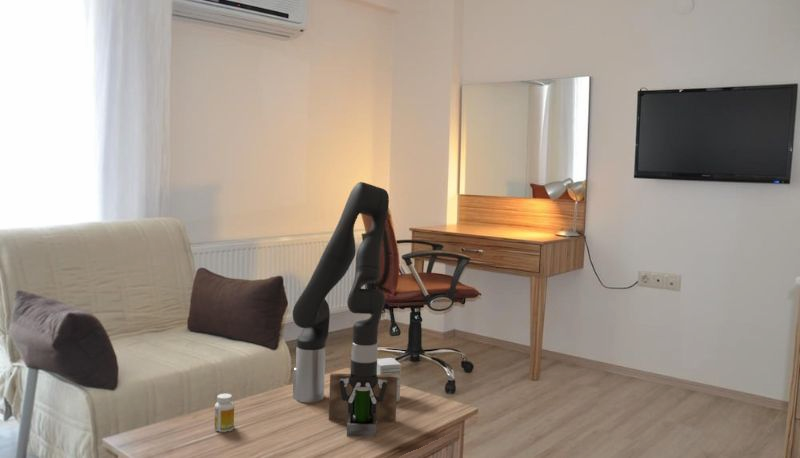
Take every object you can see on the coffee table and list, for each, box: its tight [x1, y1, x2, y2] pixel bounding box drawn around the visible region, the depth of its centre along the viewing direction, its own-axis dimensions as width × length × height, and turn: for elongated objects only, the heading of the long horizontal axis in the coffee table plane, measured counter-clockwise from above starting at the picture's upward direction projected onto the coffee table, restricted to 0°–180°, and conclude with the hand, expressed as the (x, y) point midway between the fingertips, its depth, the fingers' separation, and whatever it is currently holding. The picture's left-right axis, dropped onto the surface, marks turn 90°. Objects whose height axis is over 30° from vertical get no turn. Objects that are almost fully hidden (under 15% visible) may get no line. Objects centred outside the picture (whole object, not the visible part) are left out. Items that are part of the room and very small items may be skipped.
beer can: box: [352, 386, 372, 424], centre depth 198 cm, size 5×5×12 cm
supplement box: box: [377, 357, 402, 402], centre depth 225 cm, size 7×7×13 cm
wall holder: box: [328, 372, 398, 438], centre depth 200 cm, size 20×13×14 cm, turn 92°
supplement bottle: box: [213, 393, 235, 433], centre depth 196 cm, size 5×5×10 cm
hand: (362, 414), depth 198 cm, fingers closed on beer can, 5 cm apart
